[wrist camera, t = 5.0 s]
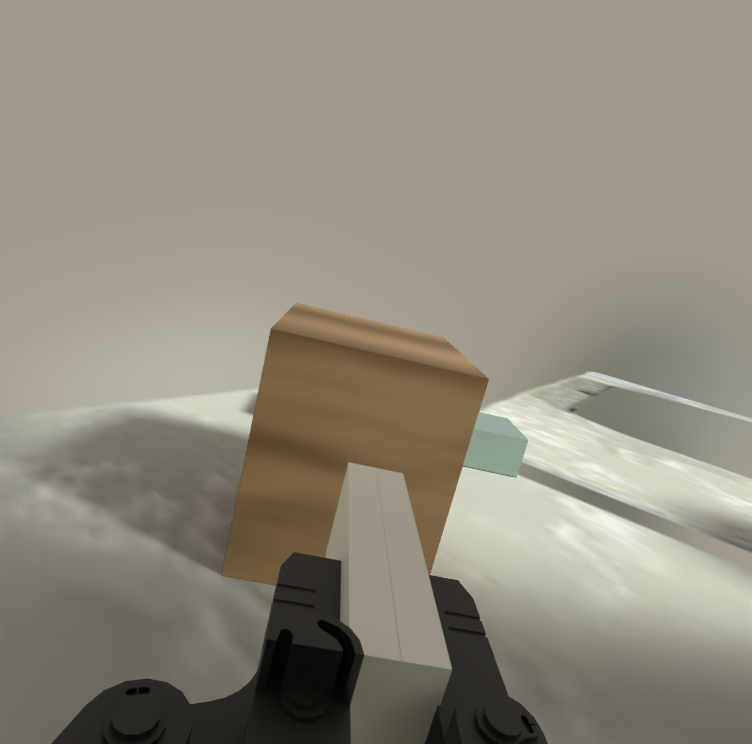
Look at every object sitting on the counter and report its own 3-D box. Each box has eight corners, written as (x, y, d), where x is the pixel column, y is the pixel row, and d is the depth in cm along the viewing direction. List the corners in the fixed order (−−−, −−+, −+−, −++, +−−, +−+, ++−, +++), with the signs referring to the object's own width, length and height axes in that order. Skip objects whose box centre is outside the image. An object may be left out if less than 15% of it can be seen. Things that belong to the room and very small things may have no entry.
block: (418, 611, 21) (488, 378, 19) (221, 576, 20) (270, 328, 18) (397, 504, 29) (443, 337, 27) (259, 476, 29) (296, 302, 26)
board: (516, 477, 38) (528, 440, 38) (278, 427, 36) (287, 387, 36) (497, 451, 43) (507, 418, 42) (287, 406, 41) (294, 371, 41)
